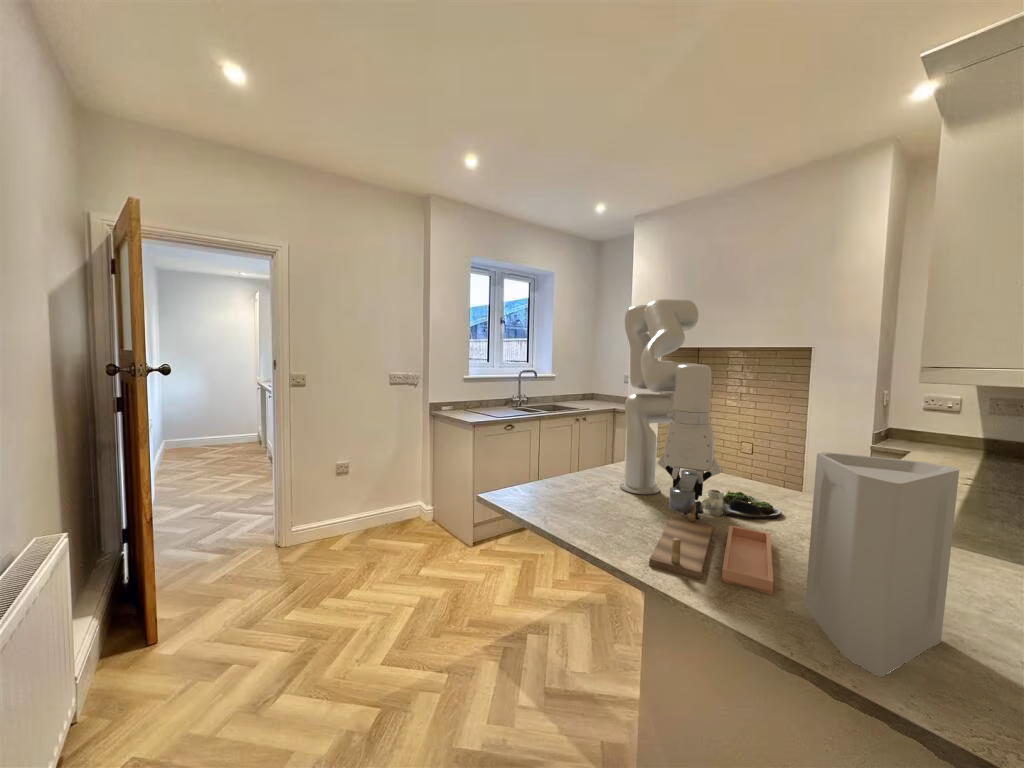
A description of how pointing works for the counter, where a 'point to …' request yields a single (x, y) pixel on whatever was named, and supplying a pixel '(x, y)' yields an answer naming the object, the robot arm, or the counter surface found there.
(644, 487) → the robot arm
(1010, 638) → the counter surface
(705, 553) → the board
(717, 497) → the valve
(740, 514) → the salad plate
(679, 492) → the grey long knobbed bar
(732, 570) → the slot holder
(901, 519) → the paper bag
